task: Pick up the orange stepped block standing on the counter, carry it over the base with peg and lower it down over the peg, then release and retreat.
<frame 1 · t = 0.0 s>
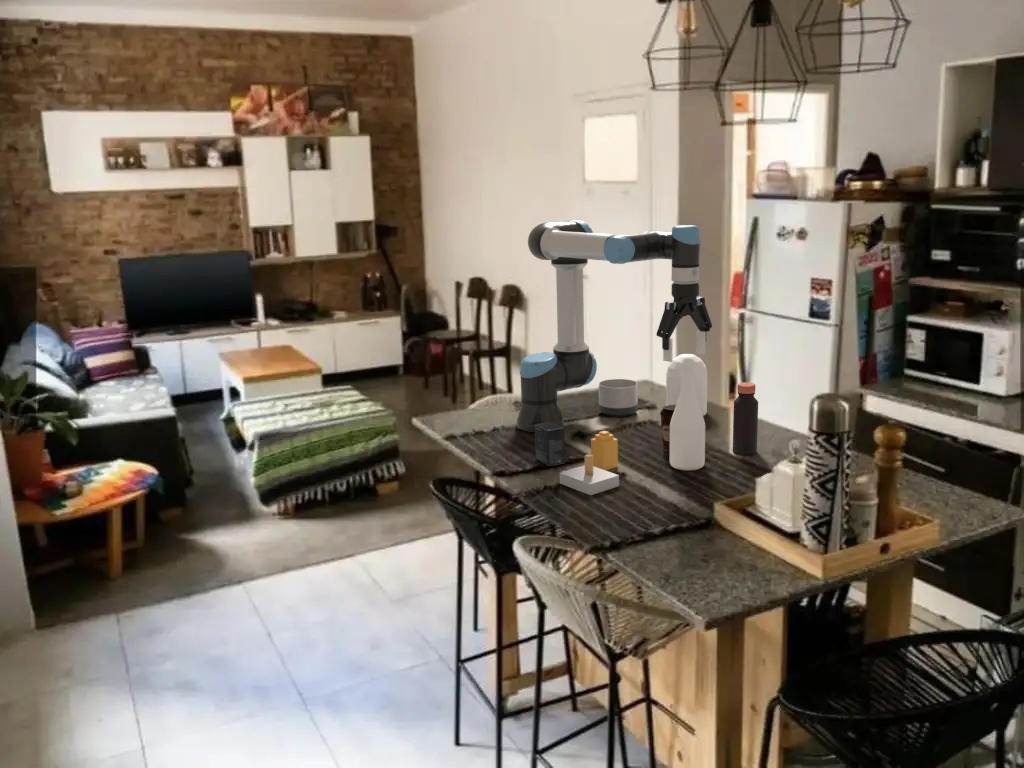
hand: (684, 357, 255), 28 cm above the kitchen island, fingers open, 13 cm apart
coffee cup: (674, 450, 264), on the kitchen island
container: (686, 413, 302), on the kitchen island
base with peg: (589, 484, 237), on the kitchen island
planter: (618, 414, 304), on the kitchen island
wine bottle: (687, 466, 250), on the kitchen island
orange stepped block: (604, 466, 251), on the kitchen island
box: (550, 462, 257), on the kitchen island
vinegar: (744, 452, 260), on the kitchen island
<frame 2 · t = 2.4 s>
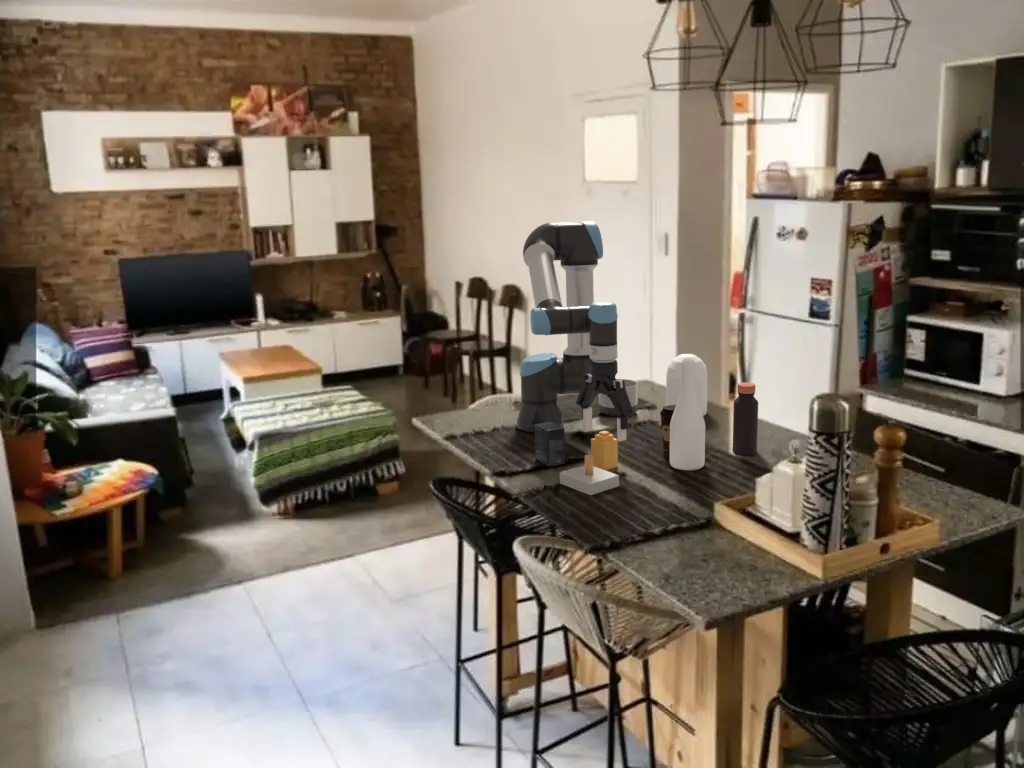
hand: (604, 435, 249), 9 cm above the kitchen island, fingers open, 13 cm apart
nothing on the kitchen island moved.
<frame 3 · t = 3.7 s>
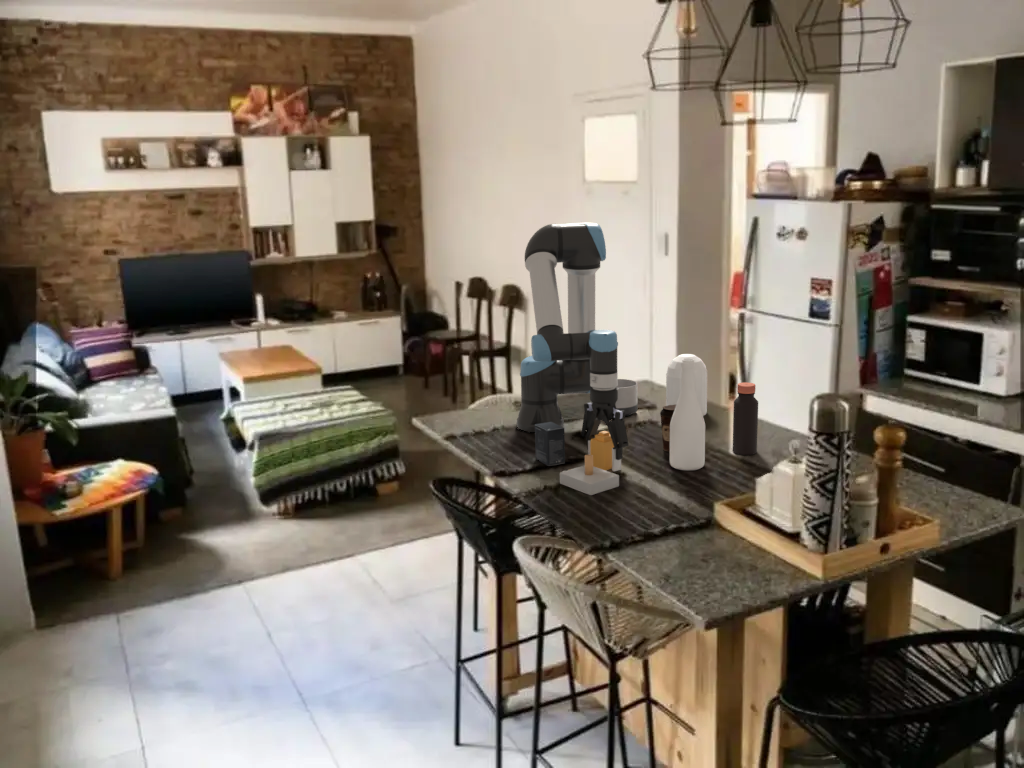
hand: (604, 465, 251), 0 cm above the kitchen island, fingers open, 9 cm apart
nothing on the kitchen island moved.
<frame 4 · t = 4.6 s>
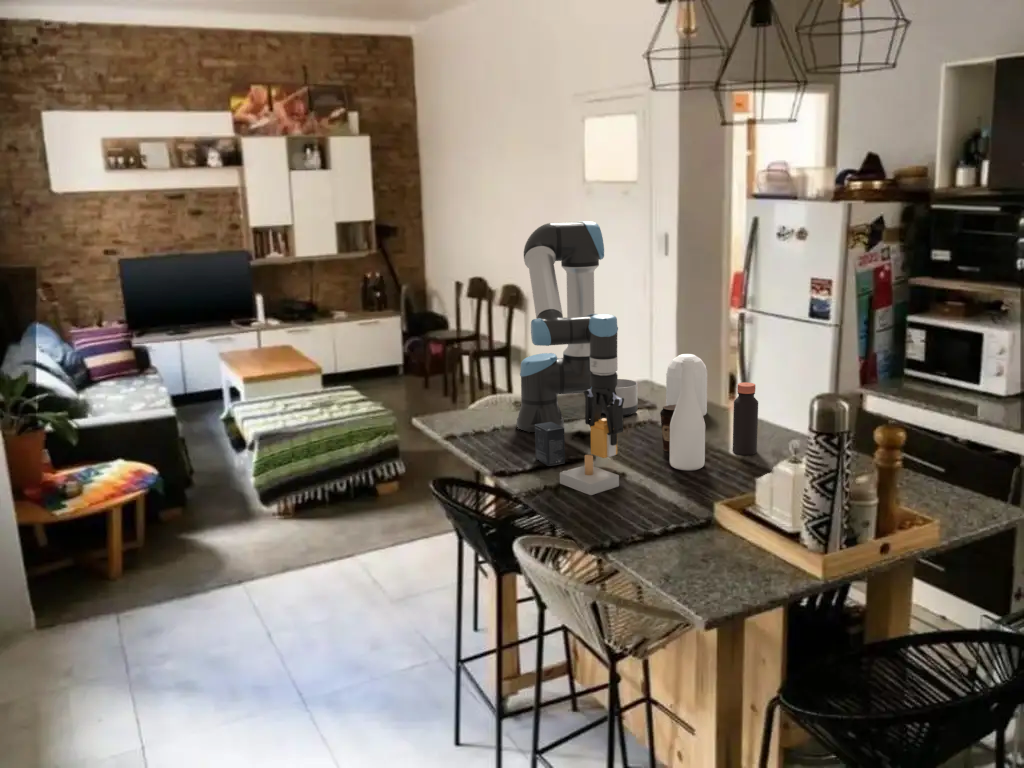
hand: (604, 452, 251), 4 cm above the kitchen island, fingers closed on orange stepped block, 5 cm apart
orange stepped block: (604, 453, 251), point 3 cm above the kitchen island, touching gripper
everything else where it was.
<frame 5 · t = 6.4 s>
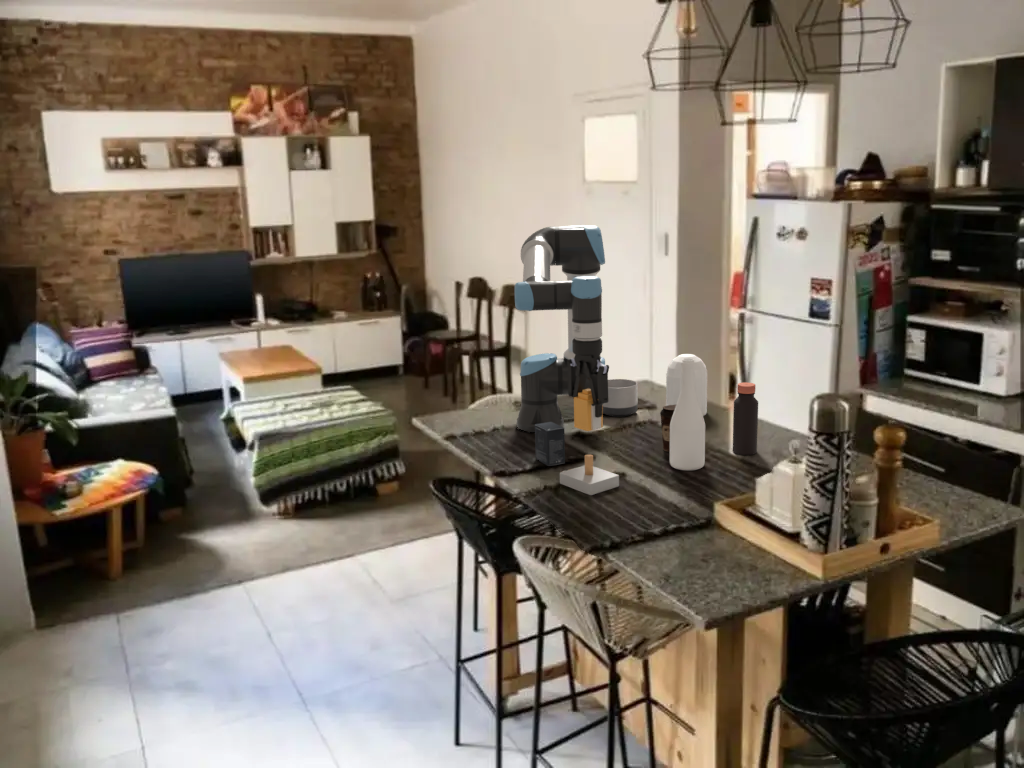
hand: (588, 426, 234), 16 cm above the kitchen island, fingers closed on orange stepped block, 5 cm apart
orange stepped block: (588, 427, 234), point 16 cm above the kitchen island, touching gripper
everything else where it was.
when the fingers open (4 cm above the kitchen island, at t = 8.5 s): orange stepped block stays where it is, resting on base with peg.
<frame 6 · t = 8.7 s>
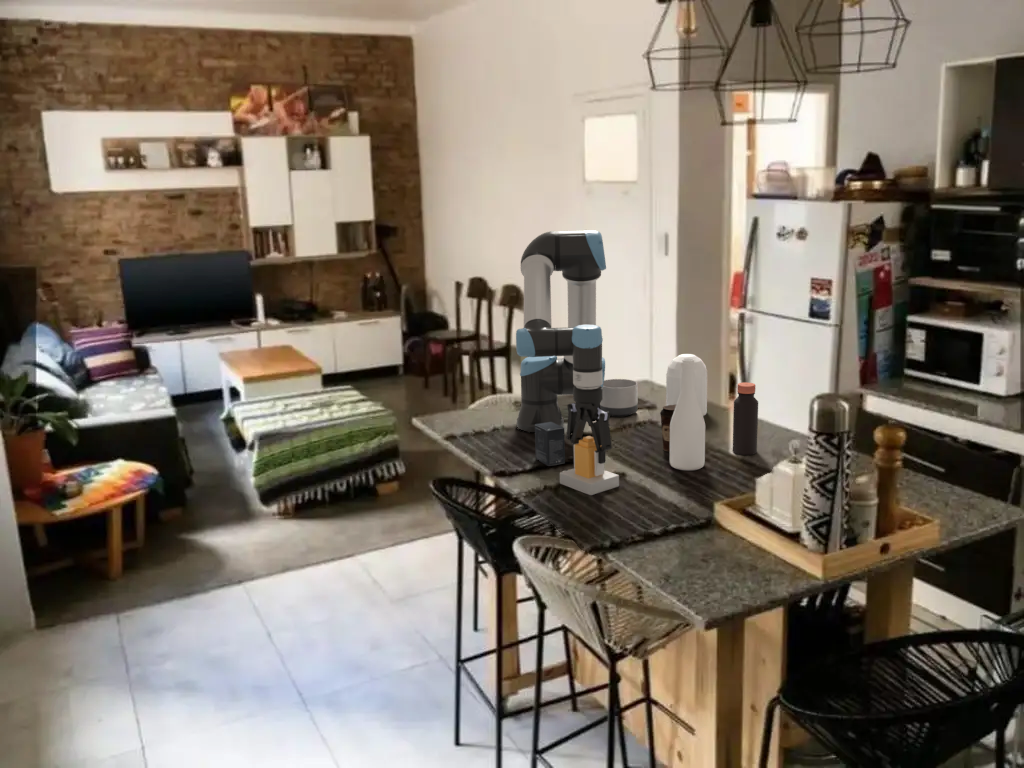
hand: (589, 470, 236), 4 cm above the kitchen island, fingers open, 7 cm apart
orange stepped block: (589, 473, 237), point 3 cm above the kitchen island, touching base with peg
everything else where it was.
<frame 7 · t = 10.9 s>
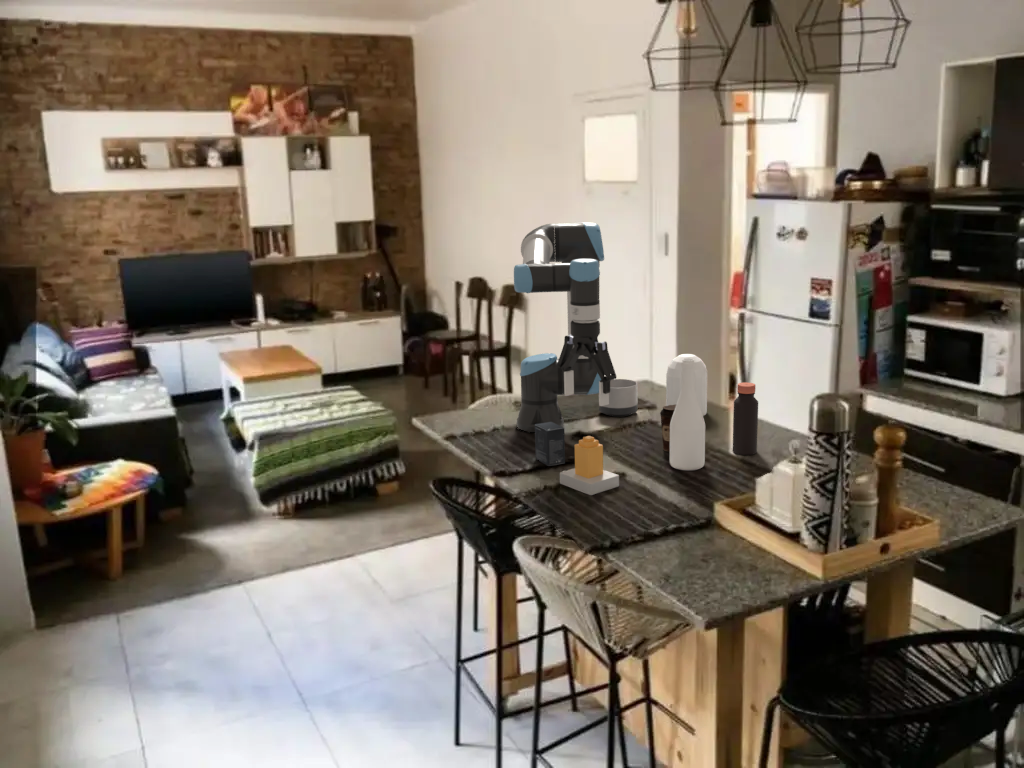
hand: (586, 399, 237), 22 cm above the kitchen island, fingers open, 13 cm apart
nothing on the kitchen island moved.
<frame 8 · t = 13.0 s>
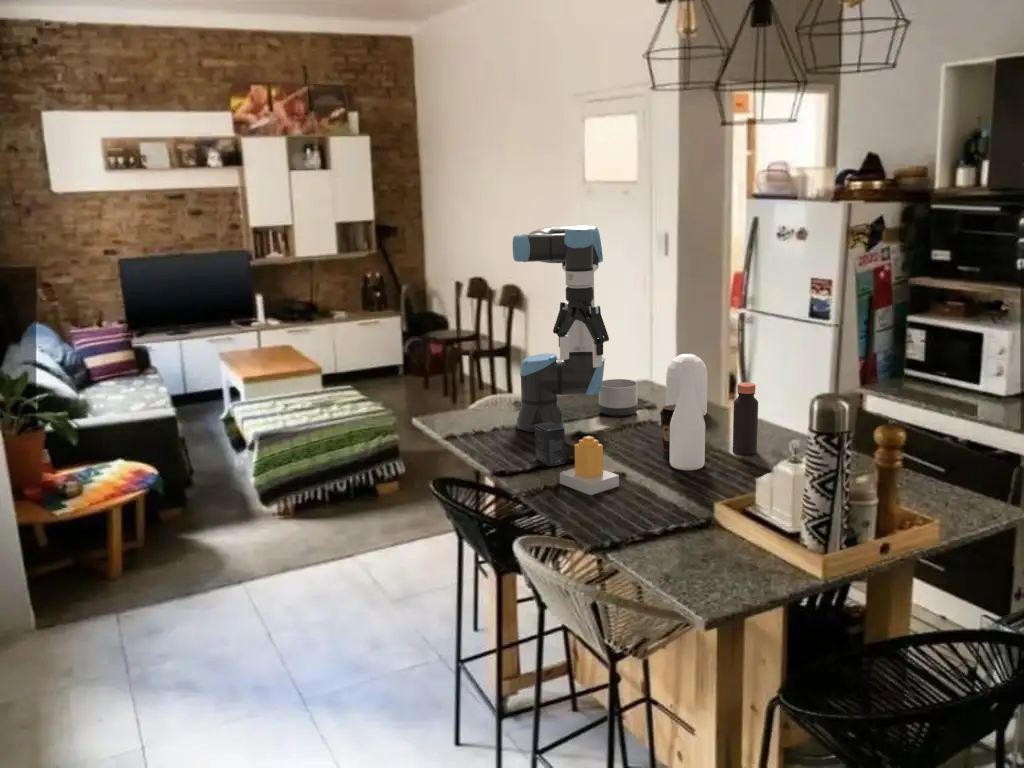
hand: (580, 363, 249), 29 cm above the kitchen island, fingers open, 13 cm apart
nothing on the kitchen island moved.
at the end: orange stepped block 0.0 cm from the base with peg (horizontally); orange stepped block point 3.0 cm above the kitchen island; orange stepped block tilted 0° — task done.
